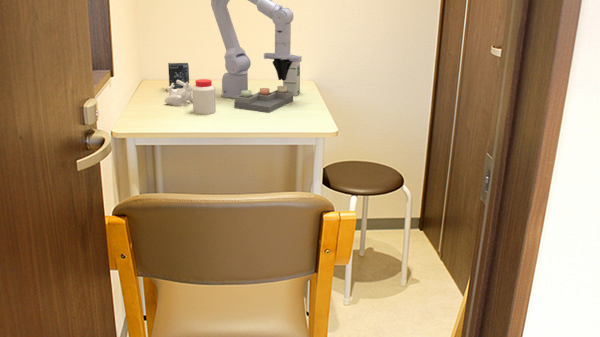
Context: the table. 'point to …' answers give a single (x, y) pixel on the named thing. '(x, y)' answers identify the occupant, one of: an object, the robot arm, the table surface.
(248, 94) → the button sage
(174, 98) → the rabbit figurine
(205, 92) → the pill bottle
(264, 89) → the button terracotta
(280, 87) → the button cream
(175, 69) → the box
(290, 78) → the syrup box
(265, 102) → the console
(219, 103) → the table surface
